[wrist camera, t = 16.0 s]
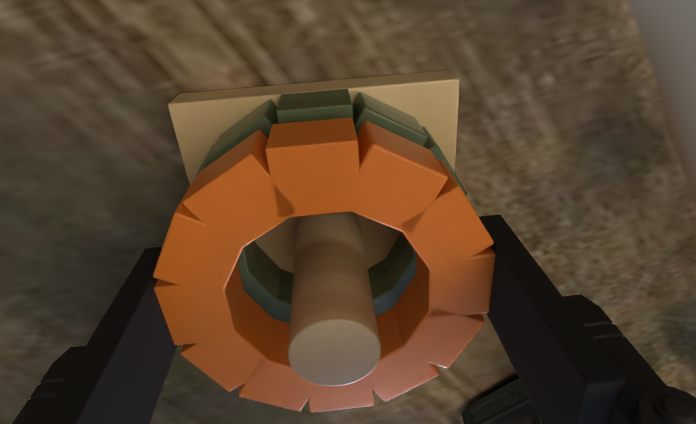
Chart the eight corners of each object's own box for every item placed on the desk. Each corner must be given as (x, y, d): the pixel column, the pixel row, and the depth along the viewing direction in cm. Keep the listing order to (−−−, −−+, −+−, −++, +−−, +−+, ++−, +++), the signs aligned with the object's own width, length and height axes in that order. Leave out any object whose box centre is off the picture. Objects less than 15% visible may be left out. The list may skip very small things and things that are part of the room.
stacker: (439, 282, 21) (506, 451, 14) (233, 302, 21) (187, 485, 13) (448, 69, 16) (561, 154, 9) (178, 92, 16) (59, 200, 8)
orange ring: (464, 352, 17) (481, 395, 16) (213, 378, 17) (202, 424, 15) (484, 104, 12) (512, 126, 11) (135, 136, 12) (105, 162, 10)
